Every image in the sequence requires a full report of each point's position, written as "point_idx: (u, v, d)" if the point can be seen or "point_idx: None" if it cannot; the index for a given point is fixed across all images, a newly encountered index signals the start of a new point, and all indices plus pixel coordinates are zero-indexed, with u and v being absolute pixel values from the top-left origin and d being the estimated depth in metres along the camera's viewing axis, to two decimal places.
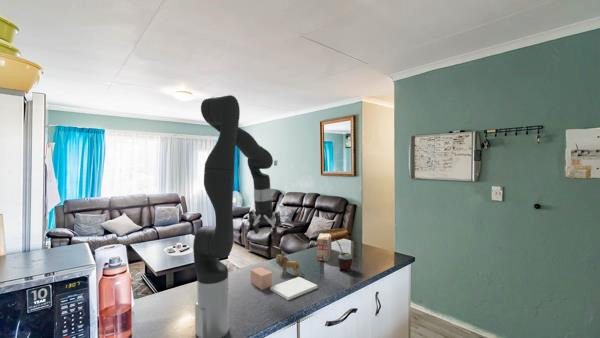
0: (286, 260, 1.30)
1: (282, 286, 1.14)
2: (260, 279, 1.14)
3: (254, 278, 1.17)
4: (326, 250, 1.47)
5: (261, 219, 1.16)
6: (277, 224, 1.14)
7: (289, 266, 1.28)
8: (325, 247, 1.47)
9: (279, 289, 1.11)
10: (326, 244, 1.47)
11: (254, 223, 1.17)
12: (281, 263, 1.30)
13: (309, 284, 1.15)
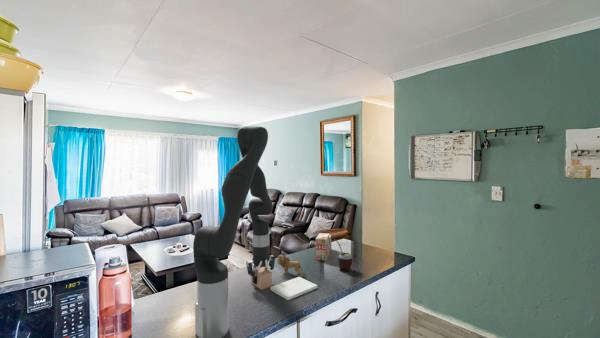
0: (288, 261, 1.29)
1: (282, 286, 1.14)
2: (260, 279, 1.14)
3: None
4: (324, 250, 1.48)
5: (261, 265, 1.17)
6: (272, 267, 1.21)
7: (291, 266, 1.28)
8: (323, 247, 1.48)
9: (279, 289, 1.11)
10: (324, 244, 1.48)
11: (255, 273, 1.15)
12: (283, 263, 1.29)
13: (309, 284, 1.15)
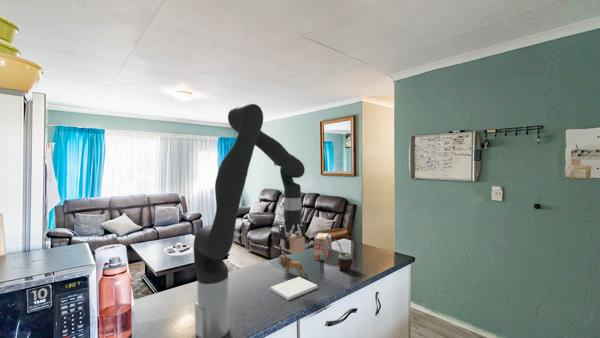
0: (290, 261, 1.29)
1: (282, 286, 1.14)
2: (293, 243, 1.09)
3: None
4: (323, 249, 1.48)
5: (293, 229, 1.12)
6: (304, 233, 1.16)
7: (292, 267, 1.27)
8: (322, 246, 1.48)
9: (279, 289, 1.11)
10: (323, 243, 1.48)
11: (288, 237, 1.10)
12: (284, 264, 1.29)
13: (309, 284, 1.15)
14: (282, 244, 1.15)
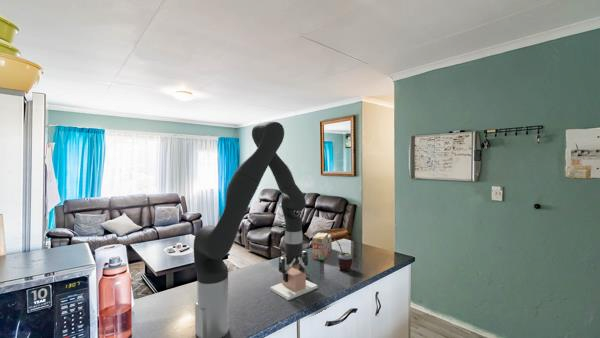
0: None
1: (282, 286, 1.14)
2: (294, 281, 1.09)
3: None
4: (321, 249, 1.49)
5: (293, 263, 1.12)
6: (307, 263, 1.17)
7: (294, 267, 1.27)
8: (320, 246, 1.49)
9: (279, 289, 1.11)
10: (321, 243, 1.49)
11: (287, 270, 1.10)
12: None
13: (309, 284, 1.15)
14: (283, 280, 1.15)
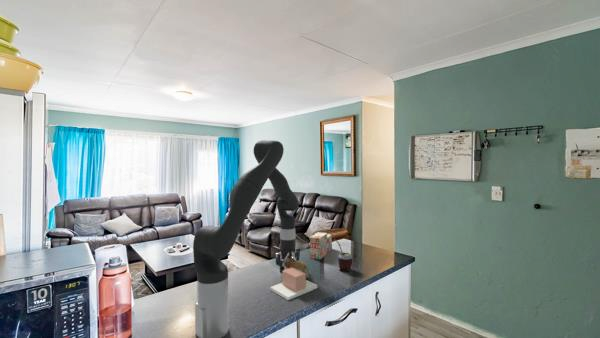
0: (293, 262, 1.28)
1: (282, 286, 1.14)
2: (294, 281, 1.09)
3: (287, 279, 1.12)
4: (318, 249, 1.50)
5: (288, 256, 1.28)
6: (298, 259, 1.32)
7: (296, 267, 1.27)
8: (317, 246, 1.50)
9: (279, 289, 1.11)
10: (318, 243, 1.50)
11: (283, 264, 1.26)
12: (288, 264, 1.27)
13: (309, 284, 1.15)
14: (283, 280, 1.15)
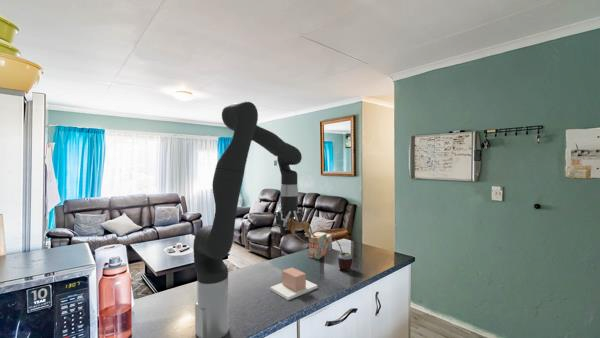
0: (296, 222, 1.14)
1: (282, 286, 1.14)
2: (294, 281, 1.09)
3: (287, 279, 1.12)
4: (317, 248, 1.50)
5: (289, 216, 1.14)
6: (300, 220, 1.18)
7: (299, 228, 1.13)
8: (316, 245, 1.51)
9: (279, 289, 1.11)
10: (317, 242, 1.50)
11: (284, 223, 1.12)
12: (289, 225, 1.14)
13: (309, 284, 1.15)
14: (283, 280, 1.15)
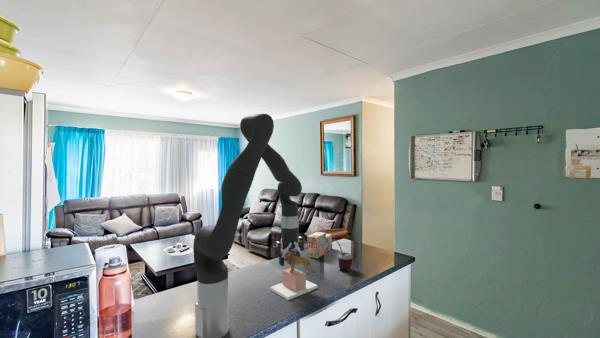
0: (295, 257, 1.14)
1: (282, 286, 1.14)
2: (294, 280, 1.09)
3: (287, 278, 1.13)
4: (315, 248, 1.51)
5: (289, 248, 1.14)
6: (303, 248, 1.19)
7: (298, 263, 1.12)
8: (314, 245, 1.52)
9: (279, 289, 1.11)
10: (315, 242, 1.51)
11: (283, 254, 1.11)
12: (289, 260, 1.13)
13: (309, 284, 1.15)
14: (283, 279, 1.15)
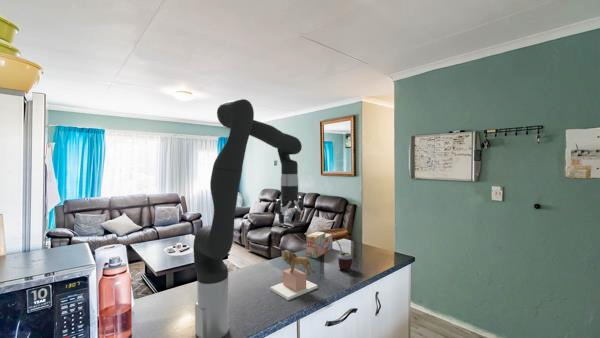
0: (295, 257, 1.14)
1: (282, 286, 1.14)
2: (294, 281, 1.09)
3: (287, 279, 1.12)
4: (313, 247, 1.52)
5: (289, 206, 1.14)
6: (303, 208, 1.19)
7: (298, 263, 1.12)
8: (313, 244, 1.52)
9: (279, 289, 1.11)
10: (314, 242, 1.52)
11: (283, 212, 1.11)
12: (289, 260, 1.13)
13: (309, 284, 1.15)
14: (283, 280, 1.15)
